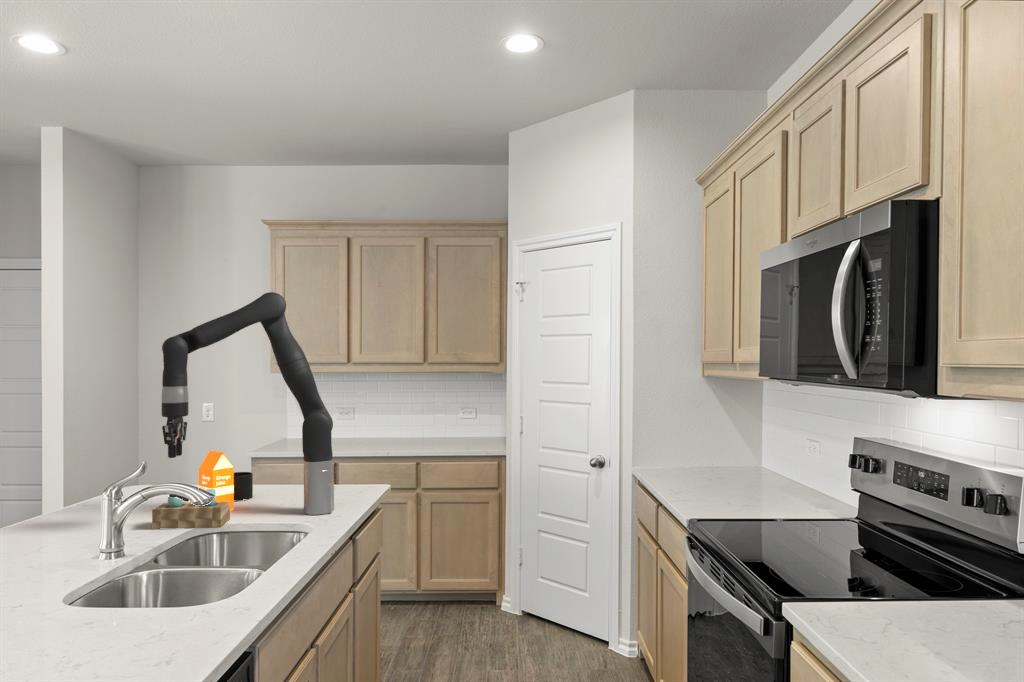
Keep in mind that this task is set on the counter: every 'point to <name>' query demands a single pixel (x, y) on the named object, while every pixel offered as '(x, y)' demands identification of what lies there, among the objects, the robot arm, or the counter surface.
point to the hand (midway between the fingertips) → (175, 456)
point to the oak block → (191, 516)
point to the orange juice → (218, 476)
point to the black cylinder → (243, 485)
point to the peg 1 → (174, 502)
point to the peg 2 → (214, 498)
